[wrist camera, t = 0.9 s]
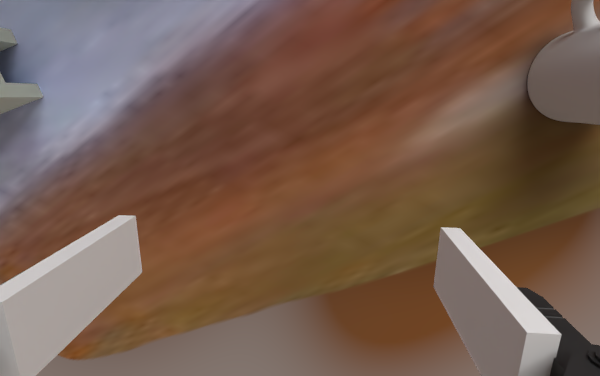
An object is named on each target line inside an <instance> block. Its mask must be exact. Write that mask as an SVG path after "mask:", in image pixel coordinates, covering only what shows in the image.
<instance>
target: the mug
mask: <svg viewBox="0 0 600 376" xmlns="http://www.w3.org/2000/svg"><path fill="white" fill-rule="evenodd" d="M571 15H572V21H573V27H574V31H571V32H568V33H565V34H563V35H561V36H559V37H557V38H555V39H554V40H552V41H551V42H550V43H548V44H547V45H546V46H545V47H544V48H543V49H542V50H541V51H540V52H539V53H538V55H537V56H536V58H535V59H534V61H533V63H532V65H531V68H530V71H529V74H528V81H527V87H528V94H529V97H530V100H531V102H532V103H533V105H534V106H535V108H536V109H537V110H538V111H539V112H540V113H542V114H543V115H545V116H547V117H548V118H551V119H554V120H558V121H563V122H576V123H587V124H596V125H600V21H599V20H598V19H597V17H596V15H595V12H594V8H593V0H572V3H571Z"/></svg>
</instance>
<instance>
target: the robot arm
mask: <svg viewBox="0 0 600 376" xmlns="http://www.w3.org/2000/svg"><path fill="white" fill-rule="evenodd" d="M141 273H142V265H141V257H140V249H139V240H138V232H137V224H136V216H125V215H119V216H117V217H115V218H113V219H112V220H110V221H108V222H107V223H105V224H103V225H102V226H100V227H98V228H97V229H95V230H93V231H92V232H90V233H88V234H86V235H85V236H83V237H81V238H80V239H78V240H76V241H75V242H73V243H71V244H70V245H68V246H66V247H64V248H63V249H61V250H59V251H58V252H56V253H54V254H53V255H51V256H49V257H48V258H46V259H44V260H43V261H41V262H39V263H37V264H36V265H34V266H32V267H31V268H29V269H27V270H26V271H23V272H21V273H20V274H18V275H16V276H15V277H13V278H11V279H10V280H9V281H7V282H4V283H3V284H1V285H0V376H36V375H37V374H38V373H39V372H40V371H41V370H42V369H43V368H44V367H45V366H46V365H47V364H48V363H49V362H50V361H51V360H52V359H54V358H55V357H56V356H57V355H58V354H59V353H60V352H61V351H62V350H63V349H64V348H65V347H66V346H67V345H68V344H69V343H70V342H71V341H72V340H73V339H74V338H75V337H76V336H77V335H78V334H79V333H80V332H81V331H82V330H83V329H84V328H85V327H86V326H87V325H89V324H90V323H91V322H92V321H93V320H94V319H95V318H96V317H97V316H98V315H99V314H100V313H101V312H102V311H103V310H104V309H105V308H106V307H107V306H108V305H109V304H110V303H111V302H112V301H113V300H114V299H115V298H116V297H117V296H118V295H119V294H120V293H121V292H122V291H124V290H125V289H126V288H127V287H128V286H129V285H130V284H131V283H132V282H133V281H134V280H135V279H136V278H137V277H138V276H139V275H140V274H141ZM434 288H435V290H436V292H437V294H438V296H439V298H440V299H441V301H442V303H443V305H444V307H445V309H446V311H447V313H448V315H449V316H450V318H451V320H452V322H453V324H454V326H455V328H456V330H457V331H458V333H459V335H460V337H461V339H462V341H463V342H464V345H465V346H466V348H467V350H468V352H469V354H470V356H471V358H472V359H473V361H474V363H475V365H476V367H477V369H478V371H479V373H480V375H481V376H600V346H599V345H592V344H591V343H590V342H589V341H588V340H586V339H585V338H584V337H583V336H582V335H581V334H580V333H579V332H578V331H577V330H576V329H575V328H574V327H573V326H572V325H571V324H570V323H569V322H568V321H567V320H566V319H565V318H562V315H561V314H559V312H557V311H556V310H554V309H553V307H552V306H551V305H550V304H549V303H548V302H547V301H546V300H545V299H544V298H543V297H541V296H539V295H538V294H536V293H535V292H533V291H531V290H530V289H528V288H519V287H516V286H515V285H514V284H513V283H512V282H511V281H510V280H509V279H508V278H507V277H506V276H505V275H504V274H503V273H502V272H501V271H500V270H499V269H498V267H496V265H495V264H494V263H493V262H492V261H491V260H490V259H489V258H488V257H487V256H486V255H485V254H484V253H483V252H482V251H481V250H480V249H479V248H478V246H477V245H476V244H475V243H474V242H473V241H472V240H471V239H470V238H469V237H468V236H467V235H466V234H465V233H464V232H463V231H462V230H461V229H460V228H443V227H441V231H440V239H439V247H438V255H437V263H436V272H435V280H434Z"/></svg>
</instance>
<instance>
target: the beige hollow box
mask: <svg viewBox="0 0 600 376" xmlns="http://www.w3.org/2000/svg"><path fill="white" fill-rule="evenodd" d="M16 44H18V43H17V41H16V39H15V37H14V35H13V33H12V31H11V30H10V29H5V28H0V51H2V50H5V49H7V48H9V47H12V46H14V45H16ZM40 98H43V95H42V93H41V91H40V89H39V87H38V84H26V83H5V81H4V79H3V77H2V75H1V73H0V114H3V113H5V112H8V111H10V110H13V109H15V108H18V107H20V106H23V105H25V104H28V103H30V102H33V101H35V100H38V99H40Z"/></svg>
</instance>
